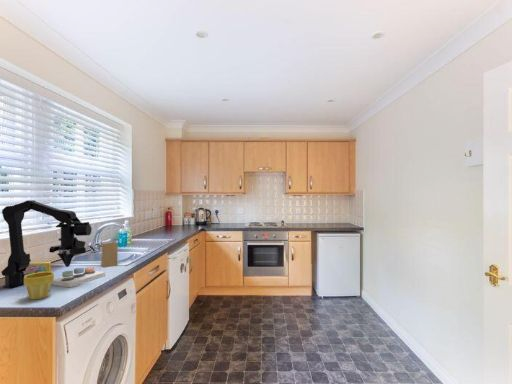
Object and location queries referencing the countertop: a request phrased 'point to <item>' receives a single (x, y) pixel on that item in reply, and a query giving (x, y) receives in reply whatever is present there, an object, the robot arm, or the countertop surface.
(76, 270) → the slate button
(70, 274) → the sage button
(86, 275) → the button board
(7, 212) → the robot arm
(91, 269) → the terracotta button
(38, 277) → the plant pot
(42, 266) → the candy box
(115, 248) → the sandwich container
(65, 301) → the countertop surface
